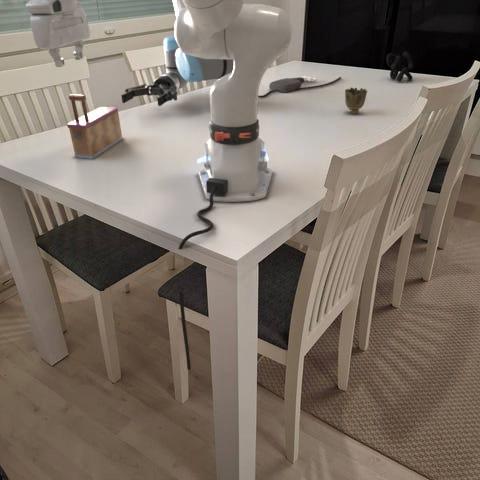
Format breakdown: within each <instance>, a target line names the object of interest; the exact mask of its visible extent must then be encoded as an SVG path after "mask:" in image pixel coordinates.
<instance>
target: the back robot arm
mask: <svg viewBox="0 0 480 480" xmlns="http://www.w3.org/2000/svg"><path fill="white" fill-rule="evenodd" d="M172 4H173V8H174V9H173V10H174V14H175V17H176V18H177V16H178V14H179V13H180V11H181V10H182V9H183V8H185V5H184V3H183V2H182V0H172ZM176 18H175V19H176ZM163 54H164V61H165V73H163V74H162V75H161V76H158V77H157V78H156V79H154V81H153V83H152V84H149V85H147V84H146V83H143V84H141V85H137V86H131V87H127V88H124V93H122V94H121V102H122V104H125V103H127V102H129V101H131V100H133V99H134V98H136V97H141V96H142V97H143V96H148V97H150V96H157V98H156V99H157V106H158V107H161V106H163V105H164V104H166V103H168V102H169V101H172V100H173V101H178V91H179V90H181V89H183V88H184V87H185V86H186V85H187V84H189V83H201V82H203V81H212V80H218V79H220V78H221V77H223V76H225V75H227V74H229V73H231V72H232V71H233V67H234V60H227V59H203V58H199V57H195V56H191V55H187V54H184V53H183V52H182V51H181V49H180V48H179V46H178V44H177V42H176V39H175V35H168V36H166V37H164V38H163ZM339 80H342V76H339V77H338V78H336V79H334V80H332V81H329V82H327V83H324V84H323V83H322V84H318V85H313V86H306V87H305V86H304V87H300V88H296V89H295V90H294V91H299V90H300V91H301V90H309V89H317V88H321V87H326V86H329V85H332V84H335V83H336V82H338V81H339ZM278 92H279V90H270V91H267V92H266V93H265V94H263V95H258V99H259V98H265V97H267V96H268V95H270V94H272V93H278Z"/></svg>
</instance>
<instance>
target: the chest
mask: <svg viewBox="0 0 480 480" xmlns="http://www.w3.org/2000/svg"><path fill="white" fill-rule="evenodd" d="M68 131H69V134H70V138H71V143H72V147H73V152H74V157H75V158H80V159H88V160H89V159H90V160H94V159H95V158H96V157H98V156H100V155H101V154H102V153H104V152H106V150H108V149H110V148H112V146H114V145H116V144H117V143H119V142H121V141H122V140H123V139H124V137H123V133H122V128H121V122H120V114H119V110H118V111H117V112H115V113H114V114H112V115H110V116H108V117H106V118H104V119H103V120H101V121H99V122H97V123H95V124H94V125H92V126H90V127H88V128H86V129H78V128H68Z"/></svg>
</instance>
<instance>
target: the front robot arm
mask: <svg viewBox="0 0 480 480" xmlns="http://www.w3.org/2000/svg"><path fill="white" fill-rule="evenodd" d="M244 1H245V0H182V2H183V3H184V5H185V8H183V9H182V10H181V11H180V13H179V14H178V16H177V18H175V22H174V27H173V30H174V33H173V34H174V36H175V39H176V42H177V44H178V46H179V48H180V49H181V51H182V52H183V53H184V54H187V55H191V56H195V57H199V58H203V59H227V60H234V67H233V71H232V72H231V73H229V74H227V75H225V76H223V77H221V78H220V79H216V80H215V81H214V82H213V83H212V85H211V86H210V90H209V102H210V103H209V105H210V106H209V107H210V120H209V126H208V129H209V139H208V140H207V141H206V142H205V143H204V144H205V145H204V148H205V149H204V150H205V152H204V153H205V156H202V157H200V158H198V159H197V160H196V163H197V164H200V163H203V162H204V164H203V165H204V168H203V169H201V170H199V171H198V178H199V181H200V185H201V187H202V190H203V193H204V196H205V199H206V200H209V205H208V206H207V207H205V208H202V209H200V210H198V211H197V217H198V219H200V220H201V221H203V222H205V223H207V224H208V227H206V228H204V229H199V230H196V231H193V232H191V233H189V234H187V235H186V236H185V237H184V238H183V239H182V240H181V241H180V243H179V244H178V245H179V246H178V250H182V249H183V248H184V246H185V244H186V243H187V242H188V241H189V240H190V239H191V238H193V237H196V236H199V235H203V234H206V233H209V232H210V231H211V230H212V229H213V227H214V223H213V222H212V221H211V220H210V219H208V218H206V217H205V216H203V215H202V214H203V213H207V212H208V211H210V210H212V209H213V206H214V202H222V203H223V202H225V203H240V202H253V201H257V200H261V199H264V198H266V196H267V193H268V190H269V187H270V186H269V185H270V183H271V180H272V177H273V170H272V169H271V168H269V167H268V161H269V156H268V154H267V151H266V149H265V141H263V140H262V138H260V121H259V118H258V103H259V97H258V96H259V91H260V85H261V82H262V79H263V77H264V75H265V73H266V72H267V70H268V69H269V68H270V66H272V64H273V63H274V62H275V61H276V60H278V59H279V58H280V57H282V56H283V55H284V54H285V52H286V51H287V49H288V47H289V45H290V43H291V39H292V24H291V21H290V18H289V16H288V14H287V12H285V10H284V9H283V8H280V7H276V6H273V5H270V4H269V5H268V4H264V3H244ZM25 8H26V12H27V14H29V15H30V17H29V23H30V28H31V32H32V36H33V40H34V44H35V45H36V47H37V48H38V49H39V50H43V51H44V50H48V53H49V55H50V56H51V58H52V60H53V61H54V66H55V67H56V68H62V67H65V64H66V63H65V59H64V58H63V57H62V56H61V55H60V52H61V50H60V48H62V47H64V46H68V45H71V44H73V46H74V52H73V56H74V60H76V61H81V60H83V59H84V54H83V52H84V40H87V39H89V38H90V36H91V31H90V27H89V22H88V19H87V15H86V12H85V10H84V9H83V8H82V5H81V4H80V2H79V1H78V0H29V1H27V2H26V3H25ZM265 159H266V160H265ZM184 300H185V299H184V293H183V292H182V291H181V290H179V308H180V318H181V319H180V320H181V327H182V334H183V341H184V343H183V344H184V350H185V357H186V358H185V359H186V368H187V370H188V371H191V369H192V367H191V357H190V348H189V340H188V331H187V323H186V314H185V301H184Z"/></svg>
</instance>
